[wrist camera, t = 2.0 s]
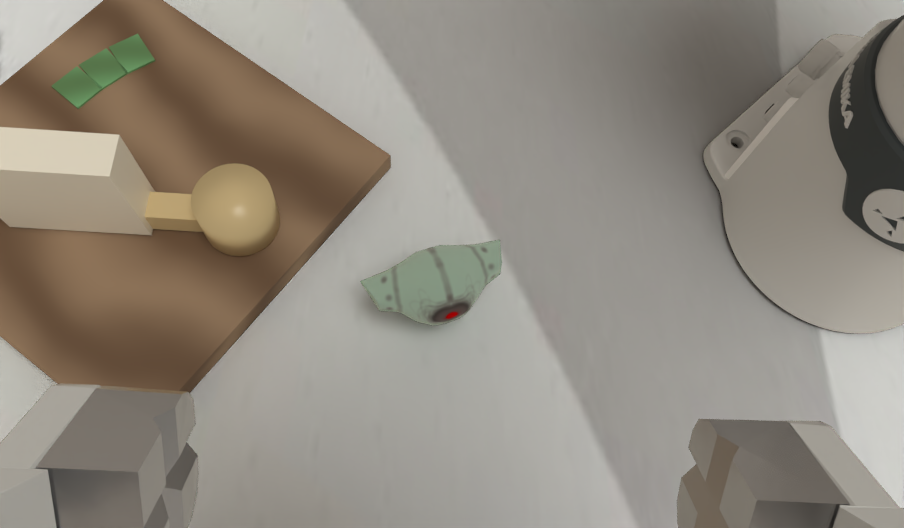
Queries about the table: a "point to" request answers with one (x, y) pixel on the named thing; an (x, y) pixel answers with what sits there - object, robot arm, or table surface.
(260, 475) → the table surface
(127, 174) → the toy meat cleaver
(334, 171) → the brown wooden board
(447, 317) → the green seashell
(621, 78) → the table surface
